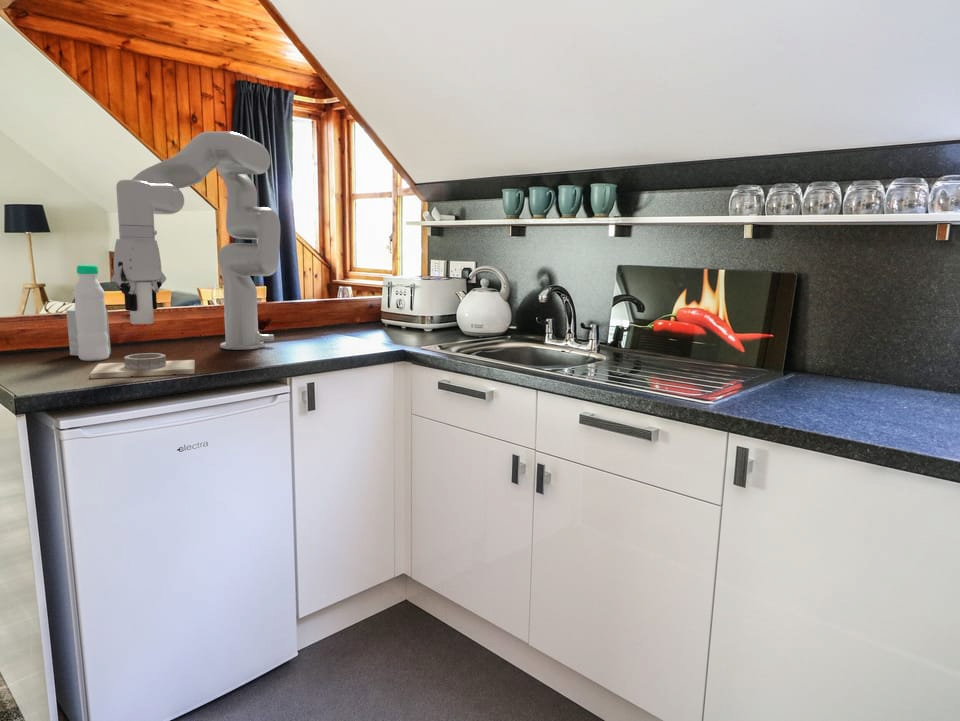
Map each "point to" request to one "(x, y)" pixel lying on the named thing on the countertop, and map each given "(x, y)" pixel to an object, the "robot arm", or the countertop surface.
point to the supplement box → (73, 332)
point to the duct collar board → (143, 366)
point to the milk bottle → (90, 315)
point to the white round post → (143, 304)
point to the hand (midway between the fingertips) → (141, 309)
